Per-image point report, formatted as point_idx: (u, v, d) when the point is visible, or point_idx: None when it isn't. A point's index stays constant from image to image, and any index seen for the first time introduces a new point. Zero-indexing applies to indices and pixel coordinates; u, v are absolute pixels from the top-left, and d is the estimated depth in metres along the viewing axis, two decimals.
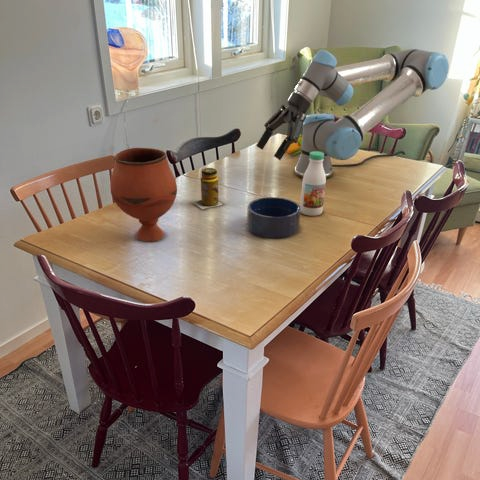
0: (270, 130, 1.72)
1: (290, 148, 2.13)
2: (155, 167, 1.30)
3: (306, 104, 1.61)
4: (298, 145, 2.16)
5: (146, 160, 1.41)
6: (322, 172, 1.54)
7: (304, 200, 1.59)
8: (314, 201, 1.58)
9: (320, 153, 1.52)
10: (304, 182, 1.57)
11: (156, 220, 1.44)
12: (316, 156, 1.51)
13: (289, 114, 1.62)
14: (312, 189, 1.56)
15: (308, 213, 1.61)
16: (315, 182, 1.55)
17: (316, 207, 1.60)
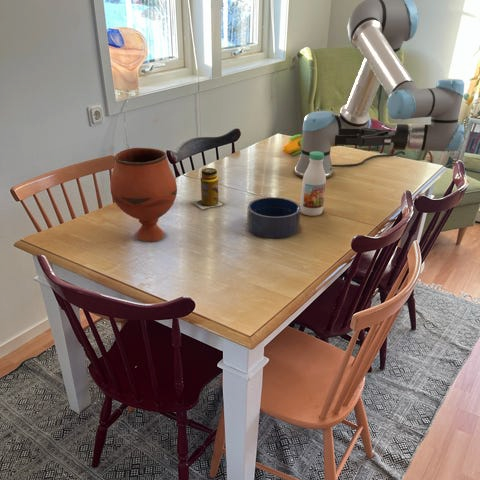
0: None
1: (290, 148, 2.13)
2: (155, 167, 1.30)
3: None
4: (298, 145, 2.16)
5: (146, 160, 1.41)
6: (322, 172, 1.54)
7: (304, 200, 1.59)
8: (314, 201, 1.58)
9: (320, 153, 1.52)
10: (304, 182, 1.57)
11: (156, 220, 1.44)
12: (316, 156, 1.51)
13: None
14: (312, 189, 1.56)
15: (308, 213, 1.61)
16: (315, 182, 1.55)
17: (316, 207, 1.60)
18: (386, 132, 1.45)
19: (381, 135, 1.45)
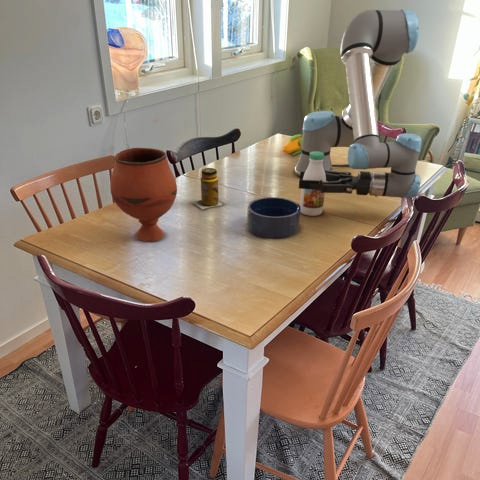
0: None
1: (290, 148, 2.13)
2: (155, 167, 1.30)
3: None
4: (298, 145, 2.16)
5: (146, 160, 1.41)
6: (322, 172, 1.54)
7: (304, 200, 1.59)
8: (314, 201, 1.58)
9: (320, 153, 1.52)
10: None
11: (156, 220, 1.44)
12: (316, 156, 1.51)
13: None
14: (312, 189, 1.56)
15: (308, 213, 1.61)
16: None
17: (316, 207, 1.60)
18: (349, 179, 1.54)
19: (346, 182, 1.54)
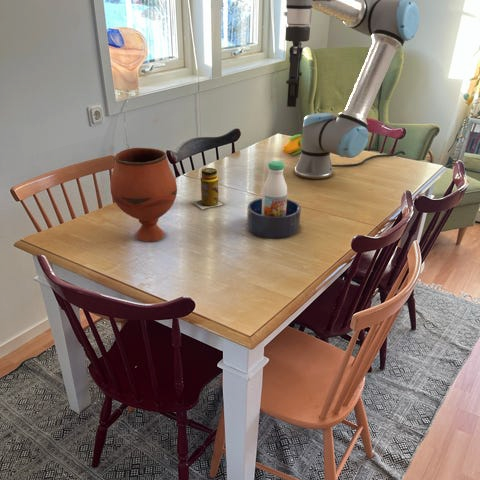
0: None
1: (290, 148, 2.13)
2: (155, 167, 1.30)
3: (298, 32, 1.41)
4: (298, 145, 2.16)
5: (146, 160, 1.41)
6: (282, 183, 1.43)
7: (264, 213, 1.48)
8: (275, 214, 1.47)
9: (280, 163, 1.41)
10: (264, 194, 1.46)
11: (156, 220, 1.44)
12: (275, 167, 1.40)
13: (289, 53, 1.46)
14: (271, 201, 1.45)
15: None
16: (275, 194, 1.43)
17: None
18: None
19: None
